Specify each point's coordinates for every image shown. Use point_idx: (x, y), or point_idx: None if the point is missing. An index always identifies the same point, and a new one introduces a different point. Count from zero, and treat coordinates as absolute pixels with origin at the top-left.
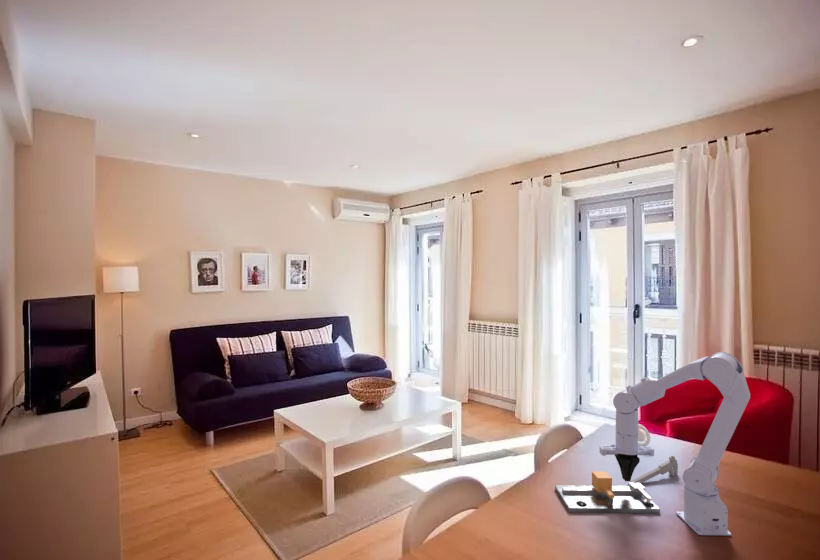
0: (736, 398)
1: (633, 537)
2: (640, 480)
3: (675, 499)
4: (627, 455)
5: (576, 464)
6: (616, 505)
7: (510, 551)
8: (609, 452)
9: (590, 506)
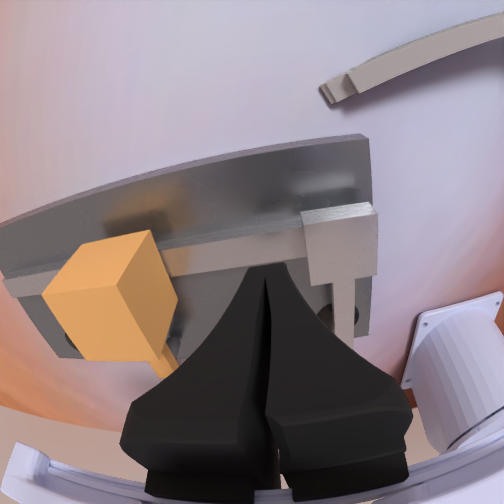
0: None
1: None
2: (415, 66)
3: (484, 209)
4: (287, 479)
5: None
6: (194, 341)
7: (40, 415)
8: (90, 494)
9: None
